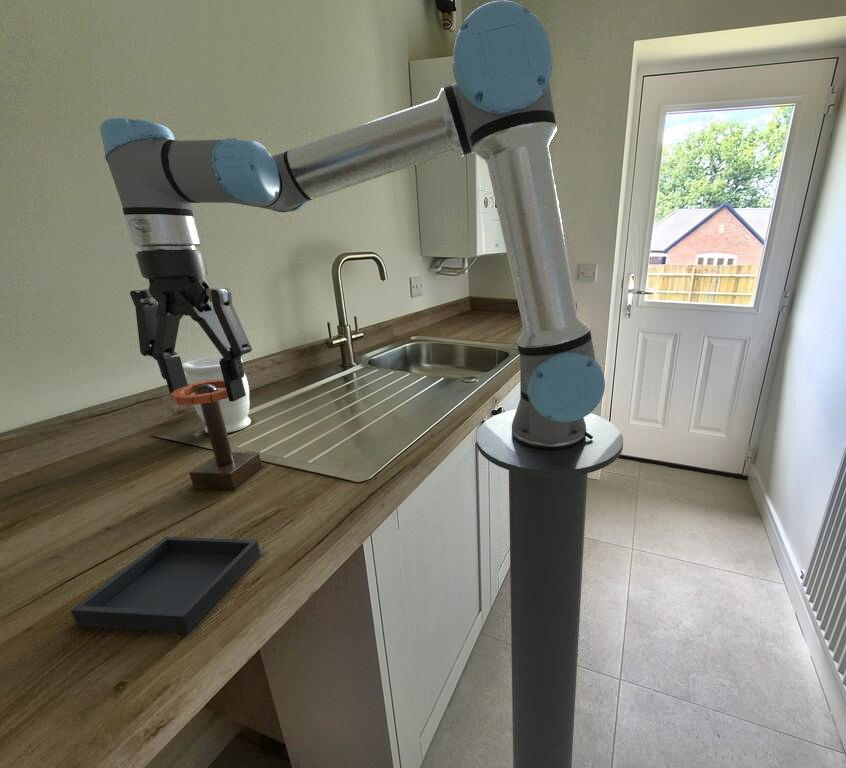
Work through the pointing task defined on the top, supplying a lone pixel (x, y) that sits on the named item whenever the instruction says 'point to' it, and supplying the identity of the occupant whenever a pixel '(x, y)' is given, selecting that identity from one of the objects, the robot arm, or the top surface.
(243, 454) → the ring stand
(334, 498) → the top surface
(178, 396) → the ring
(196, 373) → the jar
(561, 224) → the robot arm
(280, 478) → the top surface
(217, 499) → the top surface
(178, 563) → the tray
